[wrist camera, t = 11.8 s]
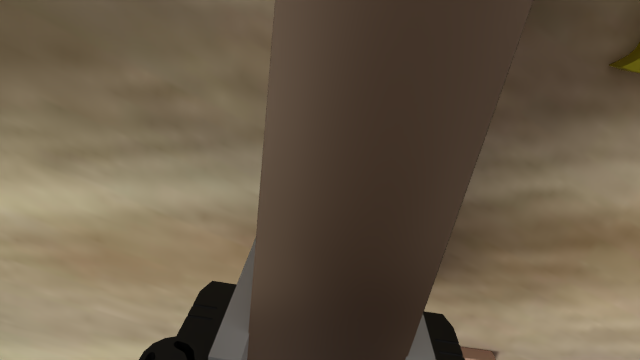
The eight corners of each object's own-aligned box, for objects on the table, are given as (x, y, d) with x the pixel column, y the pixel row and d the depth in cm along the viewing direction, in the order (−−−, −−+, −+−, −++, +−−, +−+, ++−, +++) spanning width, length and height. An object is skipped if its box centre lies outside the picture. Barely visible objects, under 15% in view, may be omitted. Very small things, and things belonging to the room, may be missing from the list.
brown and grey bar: (257, 440, 21) (227, 591, 15) (334, -212, 9) (320, -576, 4) (325, 450, 21) (319, 605, 15) (488, -188, 9) (714, -512, 4)
